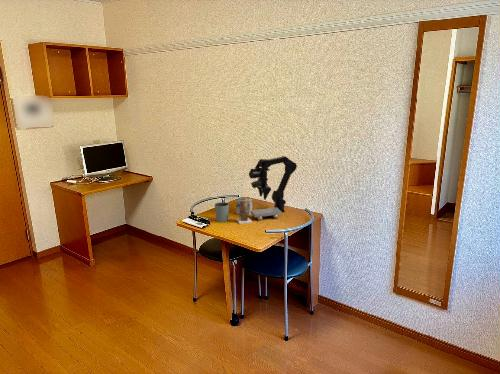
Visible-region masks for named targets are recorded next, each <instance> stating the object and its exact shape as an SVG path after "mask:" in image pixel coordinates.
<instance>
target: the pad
mask: <svg viewBox="0 0 500 374" xmlns="http://www.w3.org/2000/svg"><path fill="white" fill-rule="evenodd" d="M235 219H236V221H237V223H238V224H239V225H244V224H251V223H253V221H252V219H251V218H250V217H248V220H247V221H241V217H240V218H235Z"/></svg>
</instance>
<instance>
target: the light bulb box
mask: <svg viewBox="0 0 500 374" xmlns="http://www.w3.org/2000/svg"><path fill="white" fill-rule="evenodd" d="M241 201H246V202H247V211H248V215H249V216H251V215H252V214H251V210H253V198H250V197H249V198H248V197H238V198H237V199H236V201H235V202H236V215H240V202H241Z"/></svg>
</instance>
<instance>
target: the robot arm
mask: <svg viewBox="0 0 500 374" xmlns="http://www.w3.org/2000/svg"><path fill="white" fill-rule="evenodd" d="M278 164H283V165H284V173H283V175H282V178H281V181H280V183H279V184H278V187H277V190H273V192H272V194H271V200H272V201H273V203H274V205H273V206H274V207H273V208H276V207H277V208H278V209H279V210H280V211H282V213H284V212H286V211H285V205H286V203H287V201H286V200H285V199H284V197H285V193H284V192H285V189H286V187H287V185H288V182H289V181H290V178H291V176H292V174H293V173H294V172H295V171H296V170H297V168H298V165H297V163H296V162H294V161H292V160H291V159H290V158H288V157H287V156H284V155H282V156H279V157H275V158H269V159H266V158H260V159H258V162H257V163H256V165H255V167H254V168H250V171H249V173H248V176H249V178H250V179H257V180H254V181H252V182H251V183H250V185H251V187H252V188H253V189H256V188H257V189H258V193H259V194H258V195H259V196H260V197H262V196H263V200H265V201H266V200H267V198H268V196H269V194H270V193H271V191H272V187H270V186H269V184H268V180H269V178H268V171H271V170H270V167H271V166H274V165H278Z"/></svg>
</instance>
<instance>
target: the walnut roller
mask: <svg viewBox="0 0 500 374" xmlns="http://www.w3.org/2000/svg"><path fill="white" fill-rule="evenodd" d="M239 215H240V218H241V221H247V220H248V211H247V202H246V201H241V202H240V214H239Z"/></svg>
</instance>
